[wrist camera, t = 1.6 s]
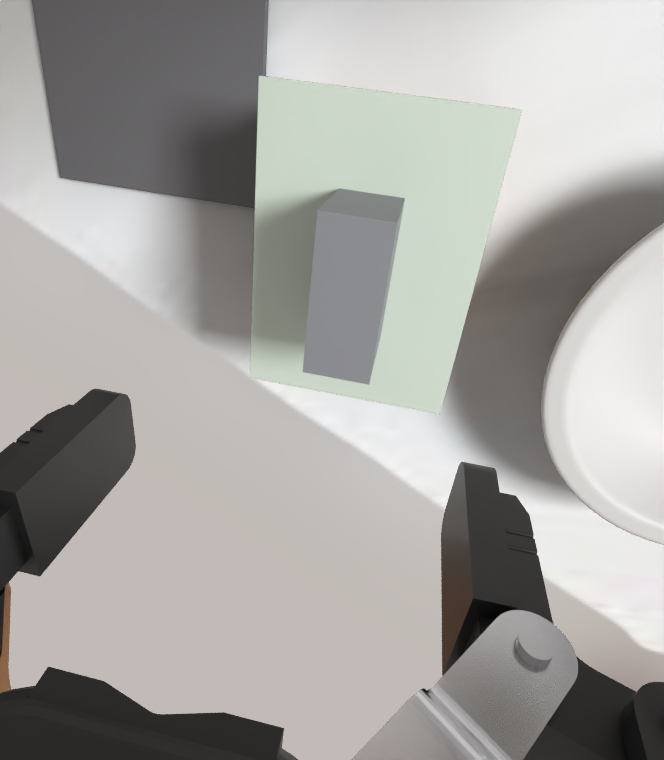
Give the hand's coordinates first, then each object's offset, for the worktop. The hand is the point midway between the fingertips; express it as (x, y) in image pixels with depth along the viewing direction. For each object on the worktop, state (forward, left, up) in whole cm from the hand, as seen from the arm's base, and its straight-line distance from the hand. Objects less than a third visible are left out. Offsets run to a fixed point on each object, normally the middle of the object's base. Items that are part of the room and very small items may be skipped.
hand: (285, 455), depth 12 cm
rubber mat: (-10, -15, -24) cm, 30 cm away
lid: (0, 0, -16) cm, 16 cm away
